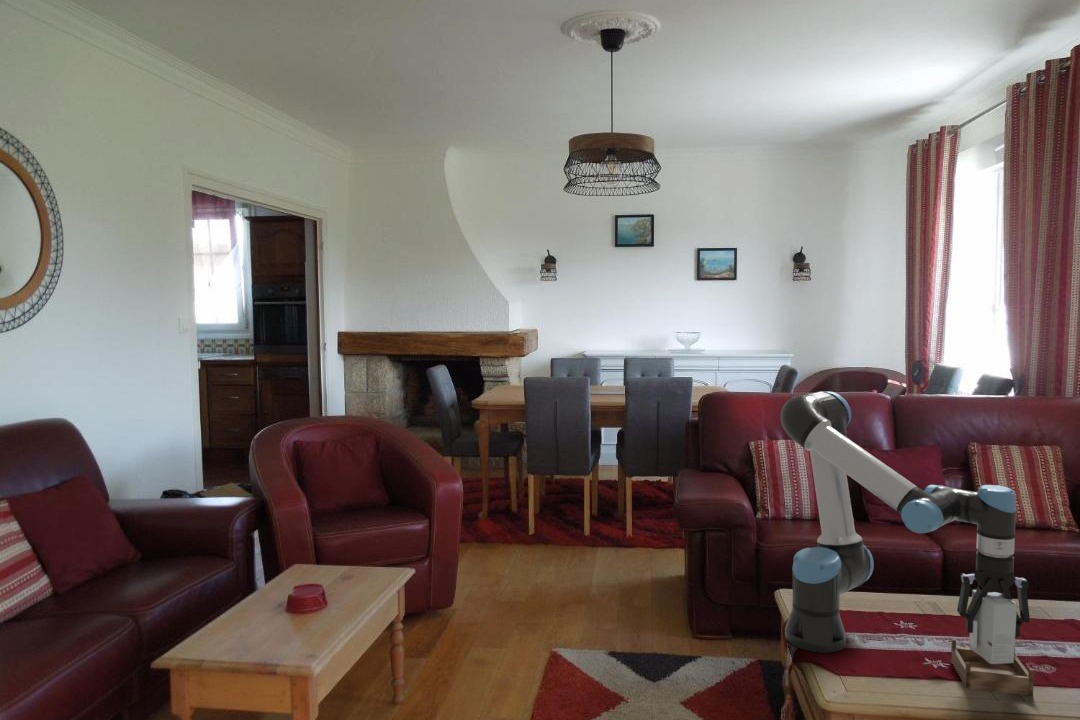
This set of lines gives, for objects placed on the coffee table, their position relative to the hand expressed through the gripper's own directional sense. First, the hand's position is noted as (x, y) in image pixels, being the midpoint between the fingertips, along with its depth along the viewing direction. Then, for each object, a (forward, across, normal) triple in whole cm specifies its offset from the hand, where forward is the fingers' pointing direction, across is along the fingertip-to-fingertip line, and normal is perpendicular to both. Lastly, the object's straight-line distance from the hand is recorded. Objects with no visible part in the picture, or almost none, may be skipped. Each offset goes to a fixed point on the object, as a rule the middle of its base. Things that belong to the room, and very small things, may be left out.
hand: (991, 647), depth 174 cm
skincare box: (+2, 0, 0) cm, 2 cm away
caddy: (+8, 0, 0) cm, 8 cm away
